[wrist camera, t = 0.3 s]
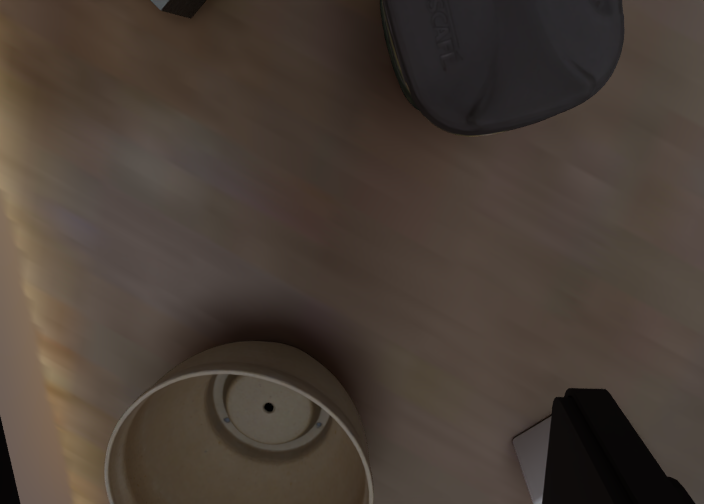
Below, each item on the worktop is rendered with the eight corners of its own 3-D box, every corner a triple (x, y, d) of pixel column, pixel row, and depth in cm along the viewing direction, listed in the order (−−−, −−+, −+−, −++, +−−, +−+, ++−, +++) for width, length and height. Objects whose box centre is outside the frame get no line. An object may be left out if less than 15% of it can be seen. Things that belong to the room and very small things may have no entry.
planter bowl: (371, 293, 41) (365, 368, 31) (381, 481, 46) (379, 601, 35) (153, 300, 42) (77, 375, 32) (185, 482, 47) (128, 599, 37)
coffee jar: (530, 89, 36) (666, 107, 18) (408, 126, 37) (428, 176, 20) (495, -75, 33) (615, -238, 16) (365, -29, 35) (343, -134, 17)
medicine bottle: (561, 500, 45) (619, 645, 34) (509, 438, 44) (552, 567, 32) (641, 455, 44) (731, 591, 32) (590, 389, 42) (666, 507, 31)
